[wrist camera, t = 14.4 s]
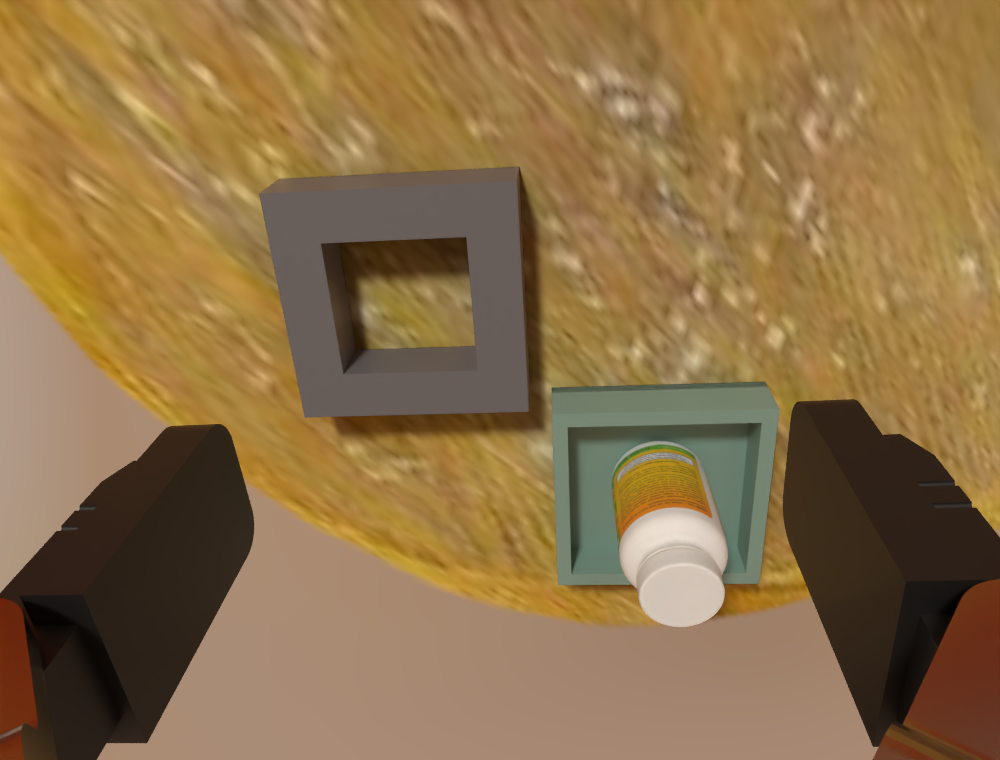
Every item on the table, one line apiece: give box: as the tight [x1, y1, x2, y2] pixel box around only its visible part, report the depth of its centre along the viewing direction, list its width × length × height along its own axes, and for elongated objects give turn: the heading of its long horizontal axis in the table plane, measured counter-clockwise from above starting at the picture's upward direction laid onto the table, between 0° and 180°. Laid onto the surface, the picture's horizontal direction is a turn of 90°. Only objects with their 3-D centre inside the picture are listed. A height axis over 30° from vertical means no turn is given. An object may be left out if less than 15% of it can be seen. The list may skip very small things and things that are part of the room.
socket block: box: [259, 167, 530, 417], centre depth 39 cm, size 12×12×3 cm
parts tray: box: [552, 382, 779, 585], centre depth 44 cm, size 12×12×3 cm
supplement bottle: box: [611, 441, 728, 627], centre depth 40 cm, size 5×5×10 cm
